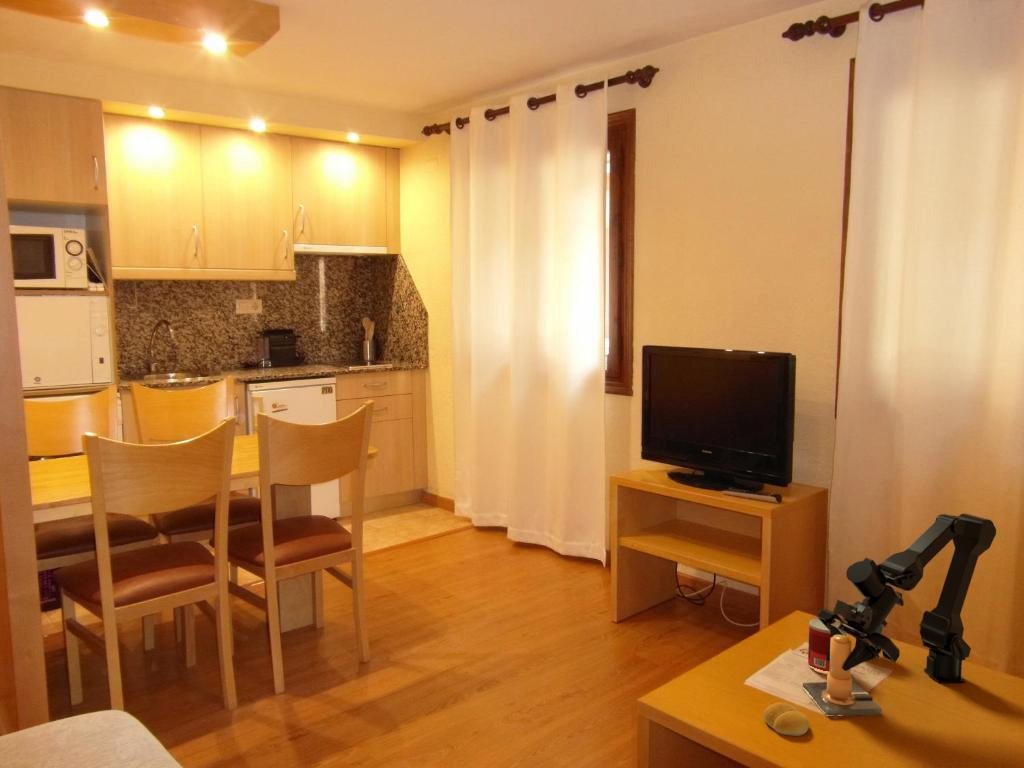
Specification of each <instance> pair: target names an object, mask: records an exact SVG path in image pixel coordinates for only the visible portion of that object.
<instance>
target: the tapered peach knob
mask: <svg viewBox="0 0 1024 768" xmlns="http://www.w3.org/2000/svg"><path fill="white" fill-rule="evenodd" d="M851 652H852V640H851V639H850V637H849V636H847V635H846V636H844V635H834V636H833V637H831V642H830V670H829V672H828V673H827V674H826V675H827V678H826V679H827V680H826V682H827V693H828V694H830V695H831V696H833V697H836V698H843V699H845V698H849V697H851V693H852V682H853V676H852V675H851V669H849V670H847V671H844V670H843V669H842V667H843V665H844V663H845V661H846V659H847V658H848V656H849V655H850V654H851Z"/></svg>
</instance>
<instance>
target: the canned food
mask: <svg viewBox="0 0 1024 768" xmlns="http://www.w3.org/2000/svg"><path fill="white" fill-rule="evenodd" d="M830 637H831V633H830V630H829V629H827V627H826V626H825V625H824V624H823V623H822V622H821V621H820V620H819V619H818V618H814V619H810V621H809V623H808V645H807V646H808V648H807V650H808V651H807V663H808V666H809V665H810V666H812V667H814V668H817V669H820V670H823V671H828V672H829V670H830V662H828V661H827V660H826V656H827V652H828V648H829V643H830Z"/></svg>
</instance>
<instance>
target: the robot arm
mask: <svg viewBox="0 0 1024 768" xmlns="http://www.w3.org/2000/svg"><path fill="white" fill-rule="evenodd" d="M996 534H997V528H996V526H995V525H994V522H993V520H991V519H988V518H984V517H980V516H977V515H973V514H969V513H961V514H959V515H952V514H946V513H942V514H939V515H937V517H936V519H935V522H933V524H932V525H930V526H929V527H928V528H927V529H926V530H925V531H924V532H922V534H921V535H920V536H919V537H918V538H917V539H916V540H915V541H914V542H913V543H912V544H910V546H909V547H907V549H905V550H903V551H900V552H896V553H893V554H892V555H890V556H888V557H887V558H886V559H884V560H883V561H882V562H881V563H878V564H877V563H876V561H874V560H873V559H871V558H870V557H869V558H868V557H865V558H863V560H862V561H856V562H854V563H852V564H851V565H849V566H848V568H847V570H846V572H845V573H846V578H847V580H848V581H849V582H850V583H851V584H852V586H853V587H854V588H855V589H856V590H857V591H858V592H859V594H861V596H863V597H864V598H863V599H862V601H855V602H854V603H853V604H850V603H848V602H845V601H843V600H840V599H837V600H836V602H835V605H834V607H833V610H832V611H831V610H829V609H827V608H823V609H821V610H820V611H819V612H818V613H817V614H816V619H819V620H820V621H821V622H822V623H823V624H824V625H825V626H826V627H827V629H829V630H830V633H831V637H833V636H834V635H844V636H847V635H849V636H852V637H853V636H854V637H853V638H855V637H856V638H855V644H854V648H853V649H852V650H851V654H850V655H849V656H848V658H847V659H846V661H845V663H844V665H843V667H842V669H843V670H844V671H847V670H849V669H850V670H851V669H853V668H854V667H857V666H859V665H861V664H863V663H865V662H868V661H870V660H873V659H880V658H881V656H880V654H881V652H882V657H883V658H885V659H886V660H888V661H891V662H893V663H896V662H897V661H898V659H899V658H900V655H901V654H900V650H901V649H899V647H898V646H897V645H896V644H895V643H894V642H893V640H891V638H890V637H887V636H885V635H883V634H882V633H881V634H879V633H877V631H878V629H879V628H880V626H881V625H882V626H883V627H884V628H886V627H887V625H888V622H887V621H886V619H887V617H888V616H889V614H890V613H891V612H892V610H893V609H894V607H895V606H896V605H898V606H900V607H903V606H904V603H905V602H904V599H903V593H901V592H899V591H897V590H895V589H894V588H897V589H900V590H902V591H905V592H906V591H907V592H910V591H912V590H913V589H915V588H916V587H917V585H918V583H920V581H921V580H922V578H924V568H926V566H927V564H929V563H930V562H931V560H933V559H934V558H935V557H936V556H937V555H938V554H939V553H940V552H941V551H942V550H943V549H944V547H946V546H947V544H949V543H950V542H951V541H952V543H953V547H954V551H953V555H952V557H951V560H950V562H949V567H948V569H947V573H946V576H945V579H944V583H943V585H942V588H941V592H940V595H939V598H938V600H937V604H936V606H935V607H934V608H933V609H931V610H925V611H924V612H923V615H922V620H921V622H920V624H919V625H918V626H919V635H920V638H921V642H922V645H923V647H926V648H928V655H927V656H926V665H925V668H923V672H925V673H926V674H927V675H929V676H930V677H931V678H933V680H934V681H936V682H938V683H939V684H949V683H951V684H952V683H956V684H957V683H966V679H965V678H964V677H962V671H963V670H962V669H963V661H966V658H969V657H970V653H971V650H972V648H971V647H970V645H969V644H968V643H967V641H966V640H964V639H963V637H964V632H965V631H964V630H965V628H964V625H963V621H962V617H961V613H962V609H963V606H964V603H965V600H966V597H967V594H968V591H969V588H970V584H971V582H972V579H973V576H974V572H975V569H976V566H977V562H978V560H979V557H980V556H981V555H982V554H983V553H985V552H986V551H988V550H989V549H990V548H991V546H992V544H993V542H994V539H995V537H996V536H997V535H996ZM892 586H893V587H894V588H893V587H892ZM840 616H841V617H840ZM846 621H847V624H846ZM852 631H854V632H852ZM831 637H830V642H831ZM826 660H827V661H828V662H830V643H829V648H828V652H827V656H826Z"/></svg>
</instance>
